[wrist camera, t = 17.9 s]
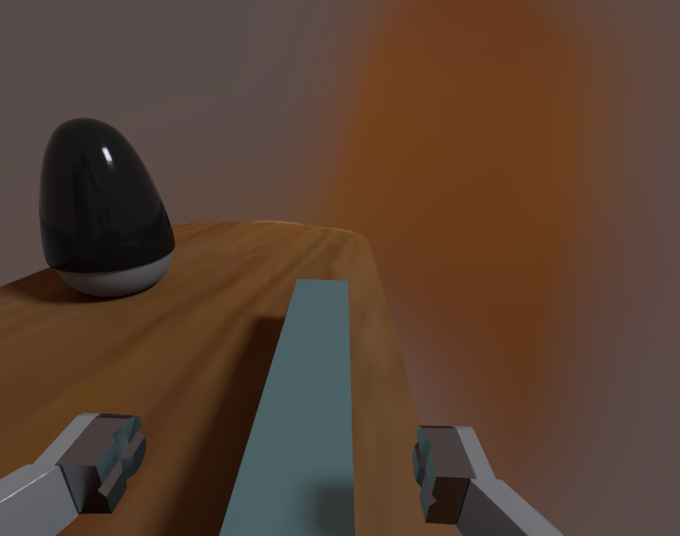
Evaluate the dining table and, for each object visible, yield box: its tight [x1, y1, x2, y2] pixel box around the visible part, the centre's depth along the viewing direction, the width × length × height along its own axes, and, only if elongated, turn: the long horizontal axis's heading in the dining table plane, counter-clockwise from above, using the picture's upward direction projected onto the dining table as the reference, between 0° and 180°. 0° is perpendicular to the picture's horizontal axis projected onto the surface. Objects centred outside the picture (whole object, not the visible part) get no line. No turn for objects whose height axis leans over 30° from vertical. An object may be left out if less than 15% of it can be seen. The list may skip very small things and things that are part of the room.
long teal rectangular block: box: [219, 279, 355, 536], centre depth 19 cm, size 4×19×4 cm, turn 179°
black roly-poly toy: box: [39, 117, 175, 297], centre depth 30 cm, size 10×10×15 cm
